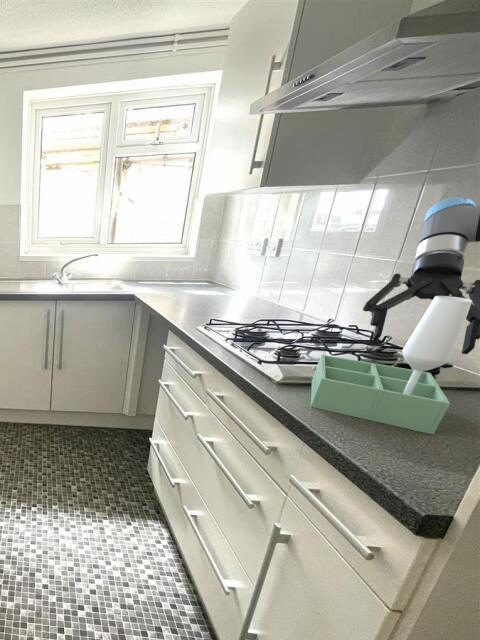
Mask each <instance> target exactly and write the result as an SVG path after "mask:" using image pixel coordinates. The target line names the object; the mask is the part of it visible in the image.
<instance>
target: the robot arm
mask: <svg viewBox="0 0 480 640" xmlns="http://www.w3.org/2000/svg"><path fill="white" fill-rule="evenodd" d="M479 242H480V205H476V203H475V202H474V200H473V199H470V198H467V197H465V198H461V197H449V198H446V199H443V200H440V201H438V202H436V203H435V204H433V205H432V206H430V208H428V210H427V211H426V214H425V216H424V219H423V221H422V224H421V228H420V233H419V239H418V244H417V248H416V253H415V255H414V260H413V262H414V263H413V264H412V268H411V272H410V277H405V276H402V274H400V273H394V274H393V275H392V277H391V278H390V280H389V282H388V283H387V284H386V285H385V286H384V287H382V288H381V289H380V290H378V292H377V293H375V294H374V295H373V296H372V297H371V298H370V299H368V300H367V301H366V302H365V304H364V306H363V307H362V311H363V312H370V315H371V318H370V323H369V324H370V326H373V327H375V329H374V332H373V336H372V342H378V340H379V339H380V338H381V337H382V334H383V330H384V326H385V322H386V318H387V314H388V310H390V309H392V308H394V307H395V306H398V305H400V304H402V303H403V302H405V301H409V300H411V299H413V298H415V297H416V298H418V299H419V300H432V301H433V299H434V297H435V296H450V297H459V298H465V299H467V297H465V296H464V295H463V292H462V291H461V290H463V291H464V292H465V294H466V295H468V298H469V300H472V303H471V306H470V309H469V311H468V314H467V317H466V320H465V321H467V322H468V323H469V324H468V325H466V327H465V334H464V339H463V345H462V349H461V354H462V355H468V354H469V353H470V352H472V351H473V350H474V349H475V347H476V343H477V342H476V341H477V340H479V339H480V279H475V281H474V282H466V281H465V282H464V280H463V279H462V276H463V272H464V266H465V260H466V256H467V249H468V245H469V243H479ZM402 285H405V286H406V287H407V289H405V290H402V292H399V293H398V294H396V295H394V296H392V297H390V298H388V299H385V300H384V301H382V300H383V299H384V298H386V297H387V296H388V295H389V294H390V293H391V292H392V291H393V290H394V289H395V288H398V287H401V286H402ZM381 301H382V302H381Z"/></svg>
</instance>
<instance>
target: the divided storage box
mask: <svg viewBox="0 0 480 640" xmlns="http://www.w3.org/2000/svg"><path fill="white" fill-rule="evenodd" d="M413 371H414V369H409V368H403V367H397V366H393V365H386V364H381V363H380V364H379V363H375V362H368V361H363V360H356V359H350V358H345V357H338V356H332V355H327V354H320V357H319V359H318V362H317V365H316V367H315V370H314V373H313V375H312V378H313V379H312V378H311V388H310V389H311V391H310V408H313V409H318V410H322V411H327V412H332V413H336V414H341V415H345V416H349V417H354V418H357V419H362V420H367V421H371V422H375V423H381V424H384V425H389V426H394V427H398V428H402V429H407V430H409V431H410V430H411V431H416V432H420V433H424V434H428V435H432V436H434V435H435V433H436V431H437V429H438V427H439V425H440V423H441V422H442V420H443V418H444V416H445V414H446V413H447V410H448V409H449V407H450V405H451V402H450V401H449V399H448V398H447V396H446V395H445V393H444V392H443V390H442V388H441V387H440V386H439V384H438V382H437V380H436V379H435V377H434V376H433V374H432V373H431V372H428V371H422V373H421V375H420V377H419V379H418V381H417V383H416V385H415V387H414V389H413V392H412V394H411V395H409V394H403V392H404V390H405V388H406V386H407V384H408V381H409V379H410V377H411V375H412V373H413Z"/></svg>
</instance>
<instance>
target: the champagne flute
mask: <svg viewBox="0 0 480 640" xmlns="http://www.w3.org/2000/svg"><path fill="white" fill-rule="evenodd" d="M450 296H451V295H450ZM450 296H435V297H434V299H433V300H432V301H431V302H430V304H429V305H428V308H427V309H426V310H425V312H424V314H423V315H422V317H421V319H420V321H419V322H418V324H417V325H416V327H415V329H414V330H413V332H412V333H411V335H410V337H409V339H408V340H407V342H406V343H405V345H404V347H403V348H402V351H401V353H402V357H403V359H404V361H405V362H406V363H407V365H409V367H410V368H412V370H414V371H413V373H412V375H411V377H410V379H409V381H408V384H407V386H406V388H405V390H404V392H403V394H409V395H411V394H412V392H413V389H414V387H415V385H416V383H417V381H418V379H419V377H420V375H421V373H422V372H428V371H430V370H433V369H437V368H439V367H442V366H444V365H446V364H447V363H449V362H451V360H452V358H453V356H454V352H455V350H456V347H457V344H458V341H459V339H460V337H461V333H462V331H463V328H464V325H465V322H466V321H467V320H466V317H467V314H468V311H469V309H470V306H471V303H472V304H473V302H472V300H471V299H470V298H466V297H465V298H466V299H465V298H459V297H450Z"/></svg>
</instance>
